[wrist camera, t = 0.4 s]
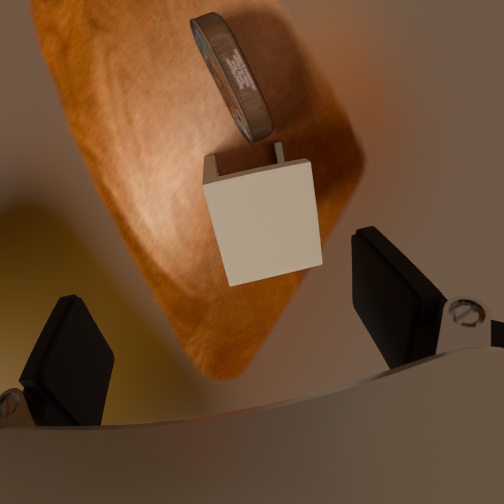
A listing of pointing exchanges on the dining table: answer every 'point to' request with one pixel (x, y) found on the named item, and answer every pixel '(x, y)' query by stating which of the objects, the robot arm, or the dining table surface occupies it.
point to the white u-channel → (264, 218)
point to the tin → (232, 76)
